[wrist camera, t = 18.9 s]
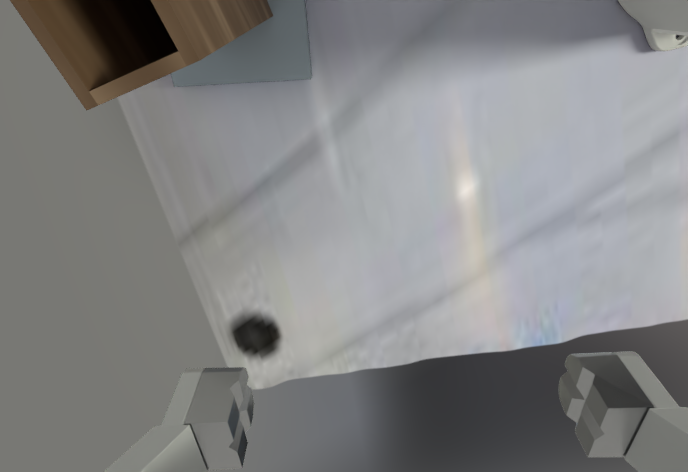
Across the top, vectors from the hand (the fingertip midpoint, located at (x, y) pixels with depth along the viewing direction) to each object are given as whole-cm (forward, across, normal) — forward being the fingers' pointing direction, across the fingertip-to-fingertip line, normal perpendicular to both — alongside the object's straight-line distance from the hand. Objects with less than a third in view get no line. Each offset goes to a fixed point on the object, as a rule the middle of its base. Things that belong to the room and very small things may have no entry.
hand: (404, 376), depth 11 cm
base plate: (+39, -12, +8) cm, 42 cm away
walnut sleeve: (+38, -12, +8) cm, 40 cm away
